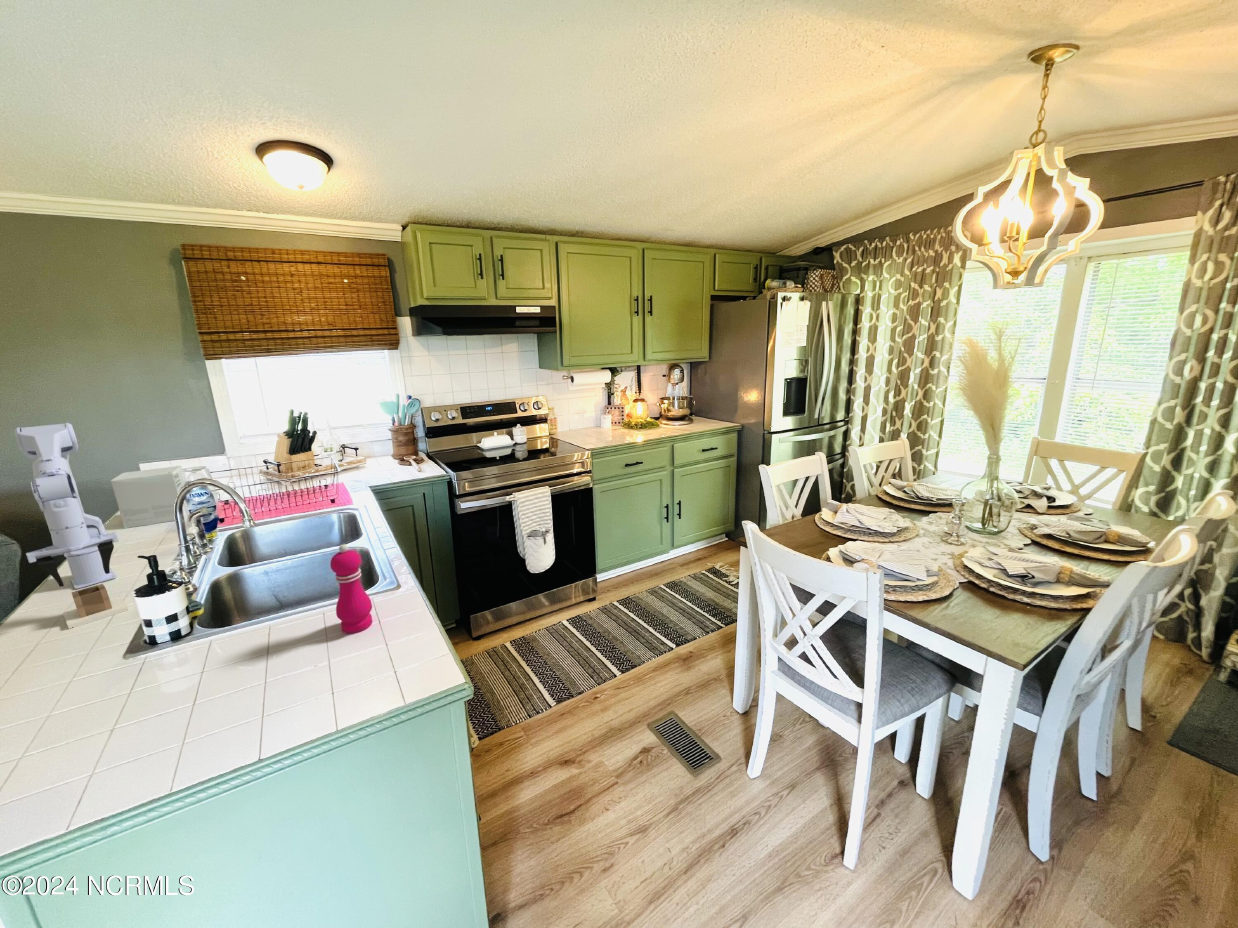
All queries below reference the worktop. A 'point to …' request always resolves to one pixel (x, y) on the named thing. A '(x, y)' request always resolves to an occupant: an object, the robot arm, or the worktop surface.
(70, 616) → the base plate
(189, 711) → the worktop surface
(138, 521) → the supplement box
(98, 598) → the walnut collar
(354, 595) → the pepper mill
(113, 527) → the worktop surface
